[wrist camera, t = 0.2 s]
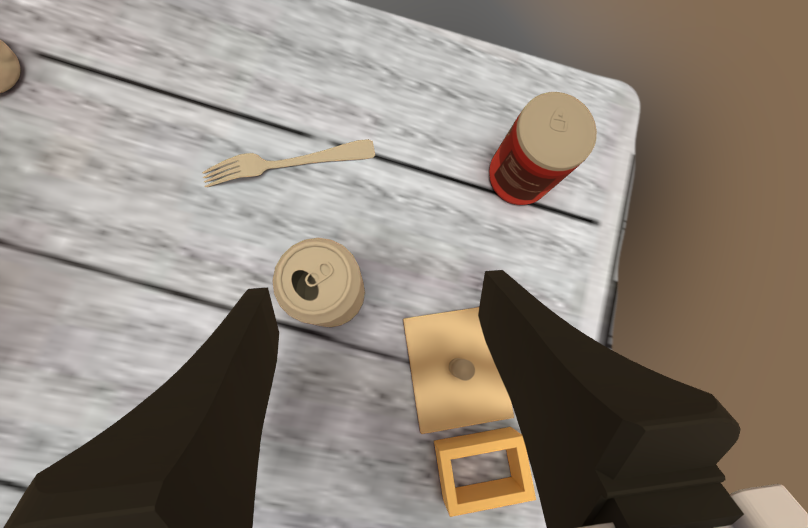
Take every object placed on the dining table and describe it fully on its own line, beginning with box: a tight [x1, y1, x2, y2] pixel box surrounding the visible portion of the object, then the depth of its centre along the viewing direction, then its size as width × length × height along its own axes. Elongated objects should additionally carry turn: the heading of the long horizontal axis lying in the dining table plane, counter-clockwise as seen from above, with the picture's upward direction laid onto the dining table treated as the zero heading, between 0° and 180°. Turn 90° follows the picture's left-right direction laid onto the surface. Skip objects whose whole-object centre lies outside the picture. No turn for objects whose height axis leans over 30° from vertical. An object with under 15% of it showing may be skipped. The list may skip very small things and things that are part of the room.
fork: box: [202, 139, 375, 187], centre depth 47 cm, size 3×21×3 cm, turn 103°
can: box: [273, 238, 365, 327], centre depth 38 cm, size 8×8×12 cm
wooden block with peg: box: [403, 307, 514, 434], centre depth 41 cm, size 12×10×4 cm
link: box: [434, 427, 536, 517], centre depth 40 cm, size 6×8×4 cm
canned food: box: [489, 92, 597, 205], centre depth 43 cm, size 8×8×11 cm
